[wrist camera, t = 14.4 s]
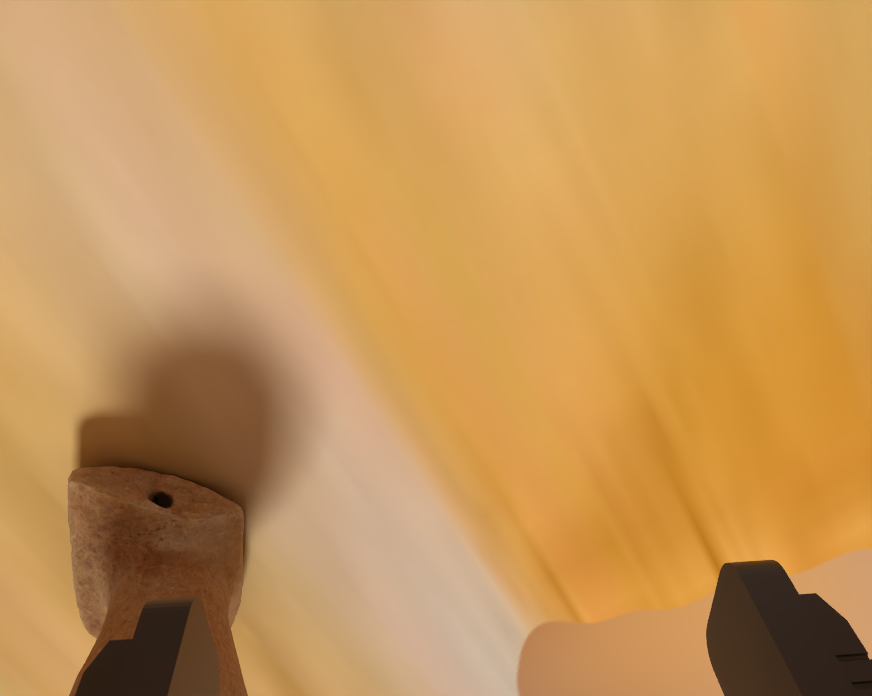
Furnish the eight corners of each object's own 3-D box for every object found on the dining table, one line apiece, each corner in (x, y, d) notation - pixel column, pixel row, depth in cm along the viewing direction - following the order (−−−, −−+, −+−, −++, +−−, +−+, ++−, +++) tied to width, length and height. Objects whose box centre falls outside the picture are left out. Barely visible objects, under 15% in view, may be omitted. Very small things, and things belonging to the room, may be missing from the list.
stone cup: (265, 636, 52) (234, 880, 40) (83, 622, 50) (-12, 876, 38) (292, 470, 45) (263, 707, 32) (77, 446, 43) (-44, 689, 30)
